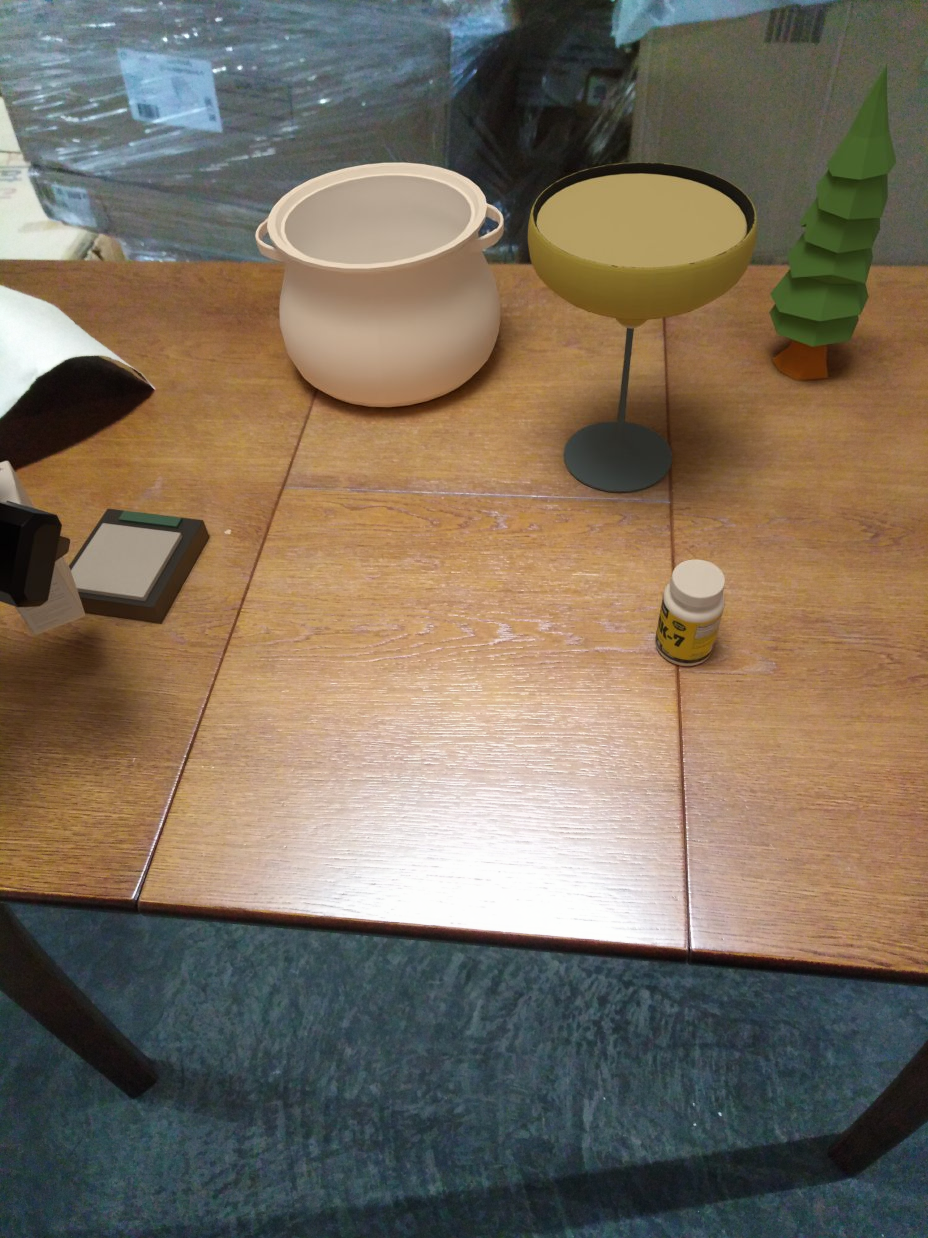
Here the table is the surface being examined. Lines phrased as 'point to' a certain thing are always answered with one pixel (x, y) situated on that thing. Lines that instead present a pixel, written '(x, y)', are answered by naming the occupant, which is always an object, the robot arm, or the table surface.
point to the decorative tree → (836, 244)
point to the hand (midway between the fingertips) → (30, 533)
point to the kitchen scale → (136, 563)
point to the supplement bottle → (691, 613)
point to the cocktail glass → (637, 278)
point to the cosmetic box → (63, 593)
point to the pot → (385, 281)
